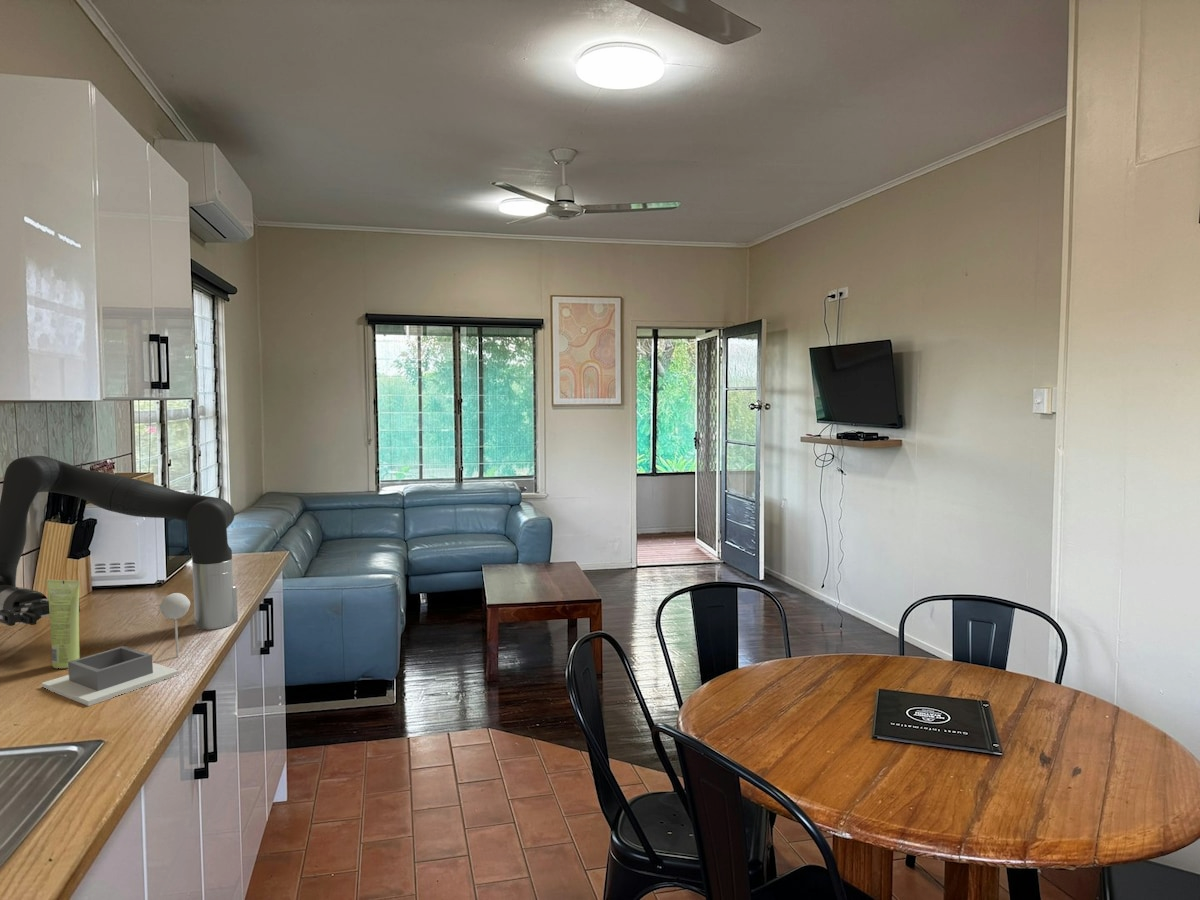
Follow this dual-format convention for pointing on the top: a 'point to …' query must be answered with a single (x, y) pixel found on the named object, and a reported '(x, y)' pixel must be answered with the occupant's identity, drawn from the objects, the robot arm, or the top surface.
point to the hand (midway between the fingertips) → (56, 615)
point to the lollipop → (175, 609)
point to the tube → (64, 621)
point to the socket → (108, 675)
